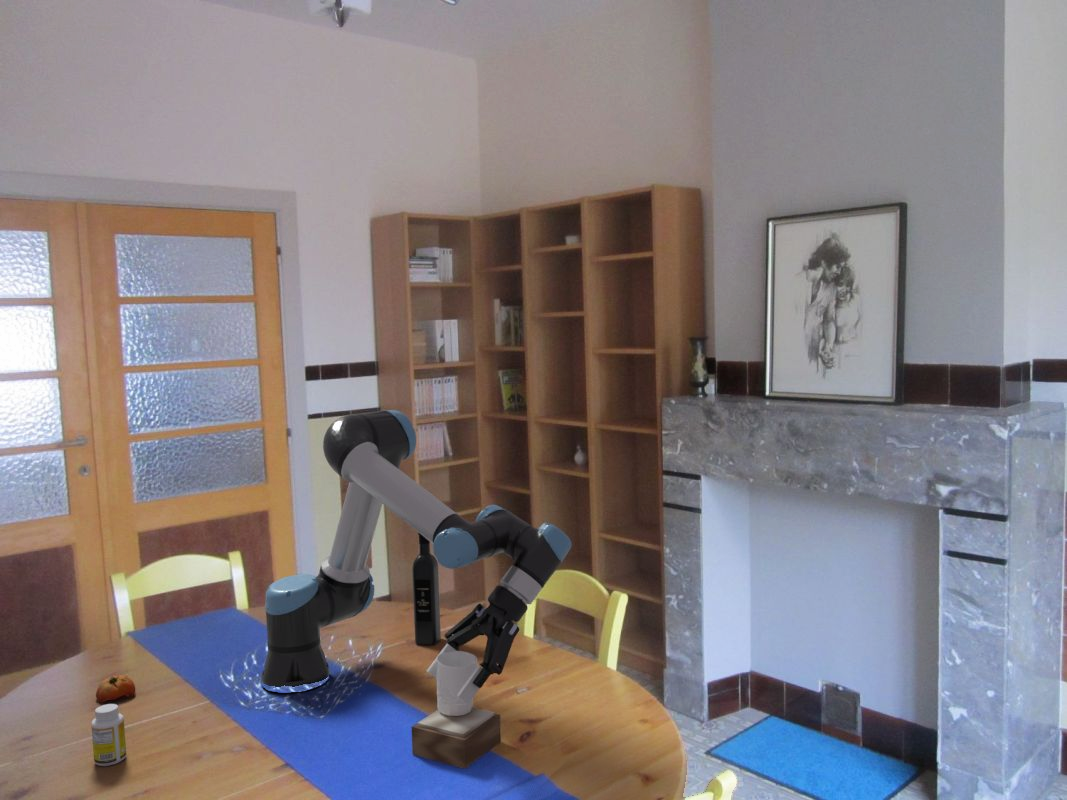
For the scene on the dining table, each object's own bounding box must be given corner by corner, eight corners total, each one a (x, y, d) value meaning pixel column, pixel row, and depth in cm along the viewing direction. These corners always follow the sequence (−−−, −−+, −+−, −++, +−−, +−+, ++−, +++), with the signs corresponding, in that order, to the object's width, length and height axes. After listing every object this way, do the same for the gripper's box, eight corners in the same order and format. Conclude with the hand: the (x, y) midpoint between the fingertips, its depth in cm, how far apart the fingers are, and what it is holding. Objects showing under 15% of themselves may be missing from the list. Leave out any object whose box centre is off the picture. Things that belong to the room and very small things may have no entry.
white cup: (469, 720, 168) (471, 669, 167) (429, 714, 169) (431, 664, 168) (479, 702, 176) (482, 653, 175) (441, 696, 177) (443, 648, 176)
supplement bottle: (118, 750, 173) (114, 699, 172) (131, 758, 169) (128, 706, 168) (88, 761, 168) (85, 709, 168) (102, 770, 165) (98, 717, 164)
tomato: (84, 694, 197) (105, 664, 200) (106, 704, 202) (126, 675, 205) (104, 707, 192) (126, 676, 196) (126, 717, 198) (147, 687, 201)
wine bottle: (435, 646, 224) (431, 528, 222) (414, 645, 225) (409, 528, 223) (441, 638, 230) (437, 523, 228) (420, 637, 231) (416, 523, 229)
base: (412, 754, 168) (411, 723, 167) (449, 728, 178) (448, 699, 177) (465, 769, 162) (464, 737, 161) (500, 741, 172) (499, 711, 171)
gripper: (559, 623, 165) (490, 721, 159) (496, 590, 186) (432, 676, 180) (534, 600, 162) (462, 699, 156) (472, 569, 183) (407, 656, 177)
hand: (446, 687), depth 168 cm, fingers open, 13 cm apart
